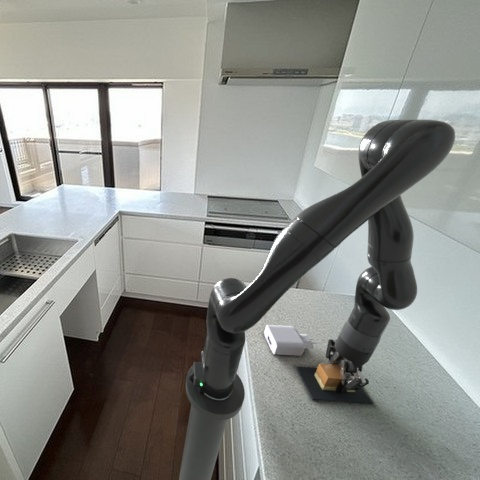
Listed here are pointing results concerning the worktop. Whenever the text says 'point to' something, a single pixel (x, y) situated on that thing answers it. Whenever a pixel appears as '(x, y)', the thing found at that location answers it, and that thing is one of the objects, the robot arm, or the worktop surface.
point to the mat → (329, 395)
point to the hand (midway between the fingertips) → (334, 383)
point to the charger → (287, 340)
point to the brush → (329, 376)
